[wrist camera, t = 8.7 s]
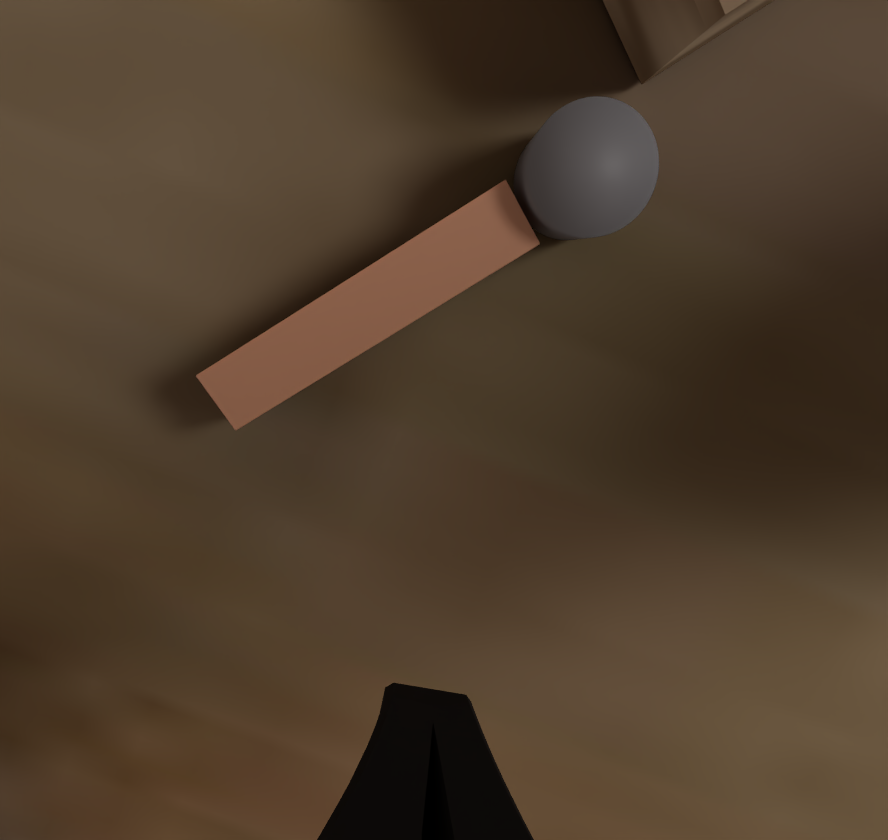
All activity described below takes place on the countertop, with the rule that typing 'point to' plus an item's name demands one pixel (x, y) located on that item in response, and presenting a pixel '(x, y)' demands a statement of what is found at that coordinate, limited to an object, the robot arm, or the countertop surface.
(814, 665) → the countertop surface
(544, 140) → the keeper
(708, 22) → the block
